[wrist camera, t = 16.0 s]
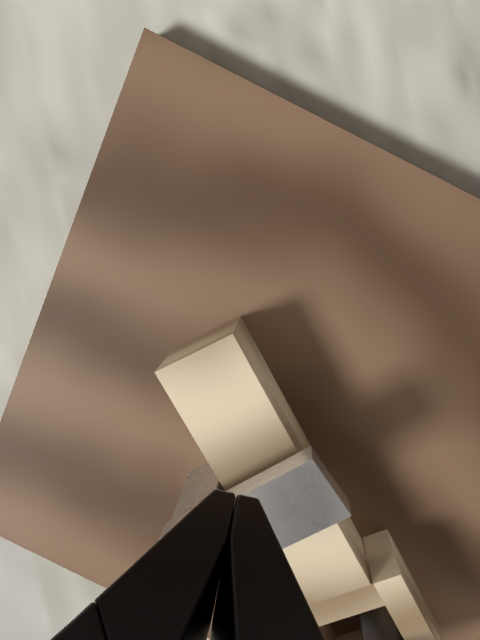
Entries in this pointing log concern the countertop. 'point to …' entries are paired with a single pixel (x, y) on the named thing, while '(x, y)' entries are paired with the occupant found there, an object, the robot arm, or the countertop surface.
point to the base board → (254, 330)
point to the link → (270, 449)
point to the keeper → (278, 496)
